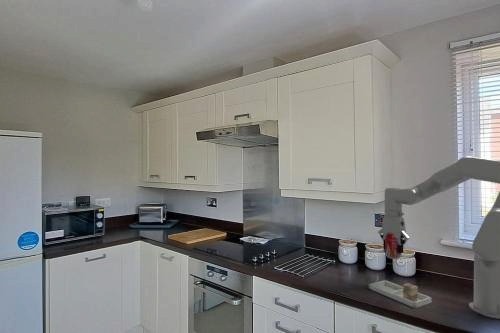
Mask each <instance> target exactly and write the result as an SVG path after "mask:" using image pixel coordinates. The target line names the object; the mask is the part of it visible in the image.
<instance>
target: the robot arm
mask: <svg viewBox="0 0 500 333" xmlns="http://www.w3.org/2000/svg"><path fill="white" fill-rule="evenodd" d="M471 179H472V180H476V181H482V182H488V183H493V184H498V185H500V160H498V159H497V160H496V159H487V158H480V157H474V156H472V155H471V156H470V155H467V156H463V157H460V158H458V160H457V161H456V162H454V163H452V164H450V165H448V166H446V167H445V168H443V169H440V170H439V171H436V172H434V173H433V174H432V175H431V176H430V177H429V178H428V179H426V180H424V181H422V182H421V183H419V184H417V185H414V186H413V187H409V188H399V187H386V188H385V189H384V215H383V217H382V223H381V229H379V230H378V235H380V238H381V241H382V242H383V246H382V247H383V250H384V251H385V235H386V234H387V232H388V233H393V235H394V236H395V238H396V239H397V241H398V244H399V245H397V253H399V254H400V253H401V254H403V253H404V246H405V244H406V243H407V242H408V241H409V240H410V236H409V235H408V234H407V233H406V232H407V231H406V224H405V223H406V221H405V218H404V217H403V216H404V215H405V213H404V212H403V205H407V206H412V205H415V204H418V203H421V202H423V201H425V200H426V199H429V198H431V197H433V196H436V195H437V194H440V193H444V192H446V191H447V190H451V188H453V187H456V186H459V185H460V184H462V183H465V182H467V181H469V180H471ZM400 237H401V238H400ZM400 239H401V241H400ZM471 246H472V251H473V253H474V254H473V255H474V256H473V260H474V261H473V301H472V302H469V303H468V306H469V308H470V309H471V310H472V311H473V312H476V313H477V314H478V315H481V316H484V317H486V318H492V319H500V191H498V194H497V196H496V199H495V200H494V203H493V205H492V206H491V208H490V210H489V211H488V212H487V214H486V215H485V217H484V219H483V221H482V223H481V225H480V228H479V229H478V231H477V234H476V235H475V237H474V239H473V242H472V245H471Z"/></svg>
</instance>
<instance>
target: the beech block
mask: <svg viewBox="0 0 500 333" xmlns="http://www.w3.org/2000/svg"><path fill="white" fill-rule="evenodd" d="M402 287H403V298H406V299H408V300H410V301H413V302H415V301H418V293H419V287H418V285H415V284H412V283H404V284H402Z"/></svg>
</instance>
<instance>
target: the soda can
mask: <svg viewBox="0 0 500 333" xmlns="http://www.w3.org/2000/svg"><path fill="white" fill-rule="evenodd" d="M400 238H401V237H400ZM400 241H401V239H400ZM397 245H399V244H398V241H397V239H396V238H395V236H394V235H393V233H388V232H387V234H386V235H385V250H384V254H385V257H387V258H388V259H392V260H399V259H401V258H402V253H400V254H399V253H397Z"/></svg>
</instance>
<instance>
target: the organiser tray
mask: <svg viewBox="0 0 500 333" xmlns="http://www.w3.org/2000/svg"><path fill="white" fill-rule="evenodd" d="M368 289H369V290H372V291H373V292H376V293H379V294H381V295H383V296H386V297H388V298H391V299H393V300H395V301H397V302H399V303H402V304H404V305H407V306H410V307H411V308H414V309H416V308H420V307H423V306H425V305H428V304H431V303H433V302H432V301H433V298H432V297H431V296H429V295H425V294H422V293H420V292H418V301H415V302H413V301H410V300H408V299H406V298H403V285H402V286H401V285H399V284H396V283H394V282H392V281H388V280H387V279H385V280H381V281H376V282H372V283H369V284H368Z"/></svg>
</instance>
